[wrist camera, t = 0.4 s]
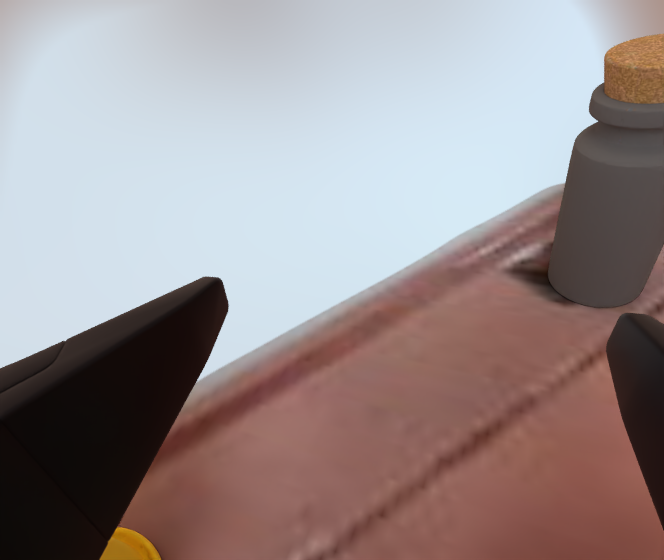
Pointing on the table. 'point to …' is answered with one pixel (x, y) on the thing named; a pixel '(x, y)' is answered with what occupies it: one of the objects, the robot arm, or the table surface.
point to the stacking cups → (129, 547)
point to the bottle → (615, 184)
